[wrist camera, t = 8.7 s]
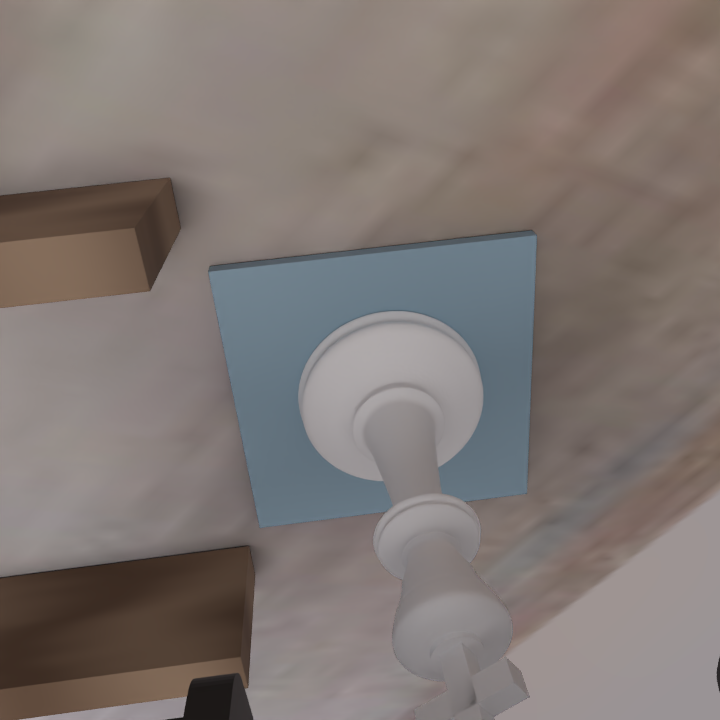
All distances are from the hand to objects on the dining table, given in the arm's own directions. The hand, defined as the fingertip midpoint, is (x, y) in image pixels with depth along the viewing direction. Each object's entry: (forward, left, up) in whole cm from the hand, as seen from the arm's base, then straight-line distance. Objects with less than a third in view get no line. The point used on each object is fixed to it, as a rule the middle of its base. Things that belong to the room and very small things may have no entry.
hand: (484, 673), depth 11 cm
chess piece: (0, 0, -9) cm, 9 cm away
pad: (+1, 0, -9) cm, 9 cm away
